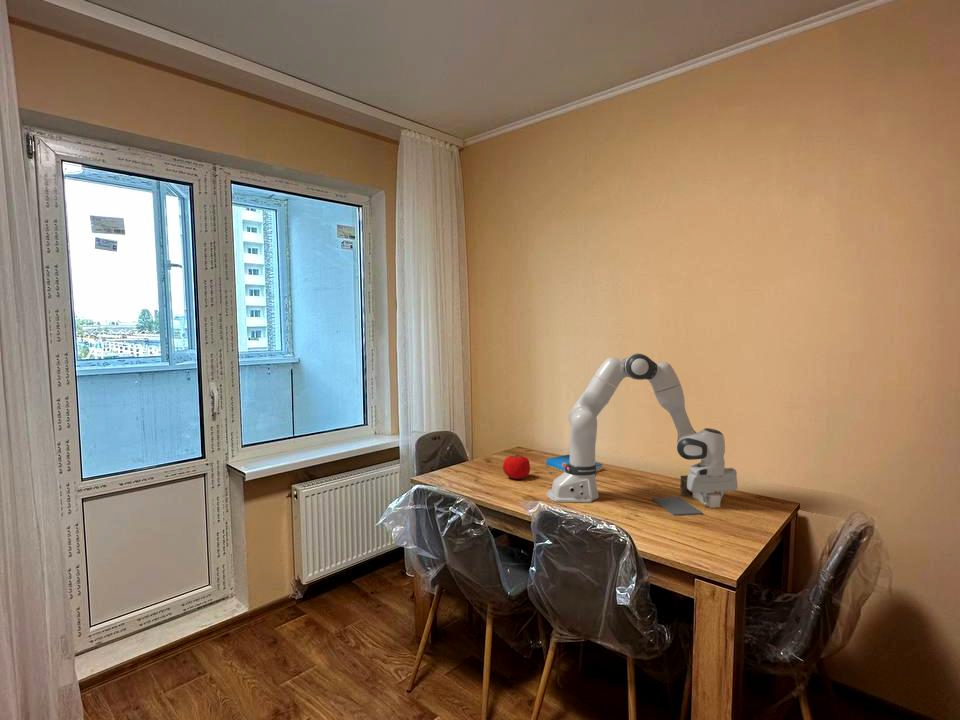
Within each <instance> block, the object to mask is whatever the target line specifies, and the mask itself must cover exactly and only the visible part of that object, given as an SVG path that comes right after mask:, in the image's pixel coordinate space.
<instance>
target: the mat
mask: <svg viewBox="0 0 960 720" xmlns="http://www.w3.org/2000/svg"><path fill="white" fill-rule="evenodd" d="M651 500H652V501H653V500H654V502H655V503H656V504H657V505H659V506H660V507H661V506H662V509H664V510H665V509H666V511H667V512H668V513H669V512H670V514H671V515H672V516H673V515H674V516H675V515H678V516H695V515H697V514H700V515H704V512H702V511H701V510H699V509H698V508H696V507H695V506H694V505H692V504H690V503H689V502H687V501H686V500H684V499H682V498H681V497H679V496H674V497H673V496H672V497H671V496H669V497H655V498H654V497H652V498H651Z"/></svg>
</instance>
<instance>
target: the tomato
mask: <svg viewBox="0 0 960 720" xmlns="http://www.w3.org/2000/svg"><path fill="white" fill-rule="evenodd" d="M502 470H503V472H504V474H505V475H506V476H507V477H508V478H511V479H514V480H521V479H525V478H526V477H528V476H529V474H530V472H531V464H530V461H529V459H528V458H527V457H526V456H524V455H521V454H515V455H510V456H506V458H505V459H504V461H503V463H502Z"/></svg>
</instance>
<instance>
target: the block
mask: <svg viewBox="0 0 960 720" xmlns="http://www.w3.org/2000/svg"><path fill="white" fill-rule="evenodd" d="M705 496H706V497H707V498H709V500H708V501H709V502H703V497H702V495H701V493H700V492H693V495H692V497H693V498H694V499H695V500H697V499H698V500H697V501H699V502H700V501H701V503H702V504H704V505H705V504H706V505H705V506H707V507H708V506H709V507H708V508H710V509H714V508H715V509H717V508H716V507H720V508H721V502H720V495H719V493H718V492H717V493H715V492H706V494H705Z"/></svg>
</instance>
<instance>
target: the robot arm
mask: <svg viewBox="0 0 960 720" xmlns="http://www.w3.org/2000/svg"><path fill="white" fill-rule="evenodd" d="M625 378H630V379H632V380H637V381H638V380H639V381H642V380H648V381H649V384H650V385H651V388H652V390H653V393H654V395H655V397H656V400H657V402H658V404H659V405H660V406H661V408H662V409H665V411H667V413H669V415H670V417H671V420H672V421H673V425H674V427H675V429H676V432H677V442H676V443H677V444H676V446H677V447H676V450H677V453H678V454H679V456H680V457H681V458H682V459H685V460H689V461H690V460H692V461H693V460H700V462H698V463H696V464H693V465H690V466H689V467H688V472H689V473H688V474H687V475H688V478H687V489H688V490H689V491H691V492H700V493H701V495H702V497H703V502H709V501H708V500H709V498H707V497H706V496H705V494H706V492H717V493H718V494H719V495H720V503H721V502H722V498H723V496H724V495H725V492H736V491H737V490H738V480H737V476H738V475H737V473H738V471H737V470H736V469H735V468H734V467H725V466H726V465H725V462H726V461H725V453H726V445H725V444H726V442H725V441H726V440H725V436H724V434H723V433H722V431H720V430H717V429H713V428H709V427H708V428H707V427H706V428H703V429H702V430H699V431H698V432H697V431H695V429H694V427H692V424H691V422H690V418H689V416H688V414H687V410H686V406H685V402H686V401H685V395H684V390H683V388H682V384H681V382H680V380H679V377H678V374H677V373H676V372H675V370H674V368H673V366H672V365H671V364H670V363H668V362H664V361H662V362H661V361H660V362H657V363H656V362H655V361H653V359H652V358H650V357H649V356H647V355H645V354H643V353H639V352H638V353H633V354H630V355H629V356H627V357H625V358H623V359H619V358H617V357H610V356H609V357H608V358H606V359H605V360H604V361H603V362H602V363H601V365H600V366H599V367H598V368H597V370H596V372H595V373H594V375H593V376H592V378H591V380H590V381H589V382H588V385H587V386H586V388H585V389H584V391H583V393H581V395H580V397H579V398H578V399H577V401H576V402H575V403H574V405H573V407H572V408H571V410H570V411H569V413H568V422H569V424H570V436H569V437H570V439H569V455H570V462H569V463H568V464H566V463H563V464H562V466H563V468H565V471H564V472H562V473H561V474H560V475H558V476H557V477H556V478H554V479H553V482H552V486H551V489H547V490H546V496H547V497H548V499H549V500H551V501H553V502H557V503H558V502H559V503H560V502H561V503H592V502H593V501H595V500H597V499H598V498H600V495H599V492H598V487H597V480H596V479H597V478H596V477H597V473H598V472H597V469H596V464H595V462H596V442H597V435H598V431H597V430H598V418H597V417H598V416H599V415H600V413H601V412H602V411H603V409H604V408H605V407H606V406H607V405H608V404H609V402H610V400H611V398H612V397H613V396H614V394H615V392H616V390H617V388H618V387H619V385H620V384H621V383H622V381H623V380H624V379H625Z"/></svg>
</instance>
